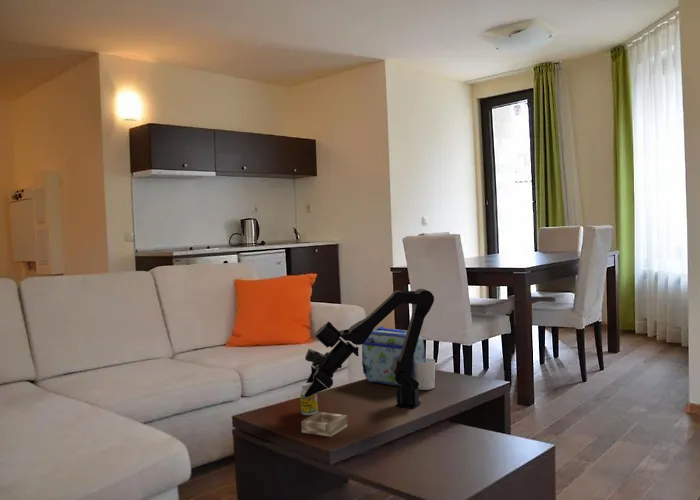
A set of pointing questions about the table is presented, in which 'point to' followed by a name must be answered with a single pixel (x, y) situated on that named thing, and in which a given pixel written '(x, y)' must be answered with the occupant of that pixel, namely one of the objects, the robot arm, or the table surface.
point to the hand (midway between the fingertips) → (304, 392)
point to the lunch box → (386, 354)
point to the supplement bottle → (308, 401)
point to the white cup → (425, 374)
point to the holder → (324, 424)
